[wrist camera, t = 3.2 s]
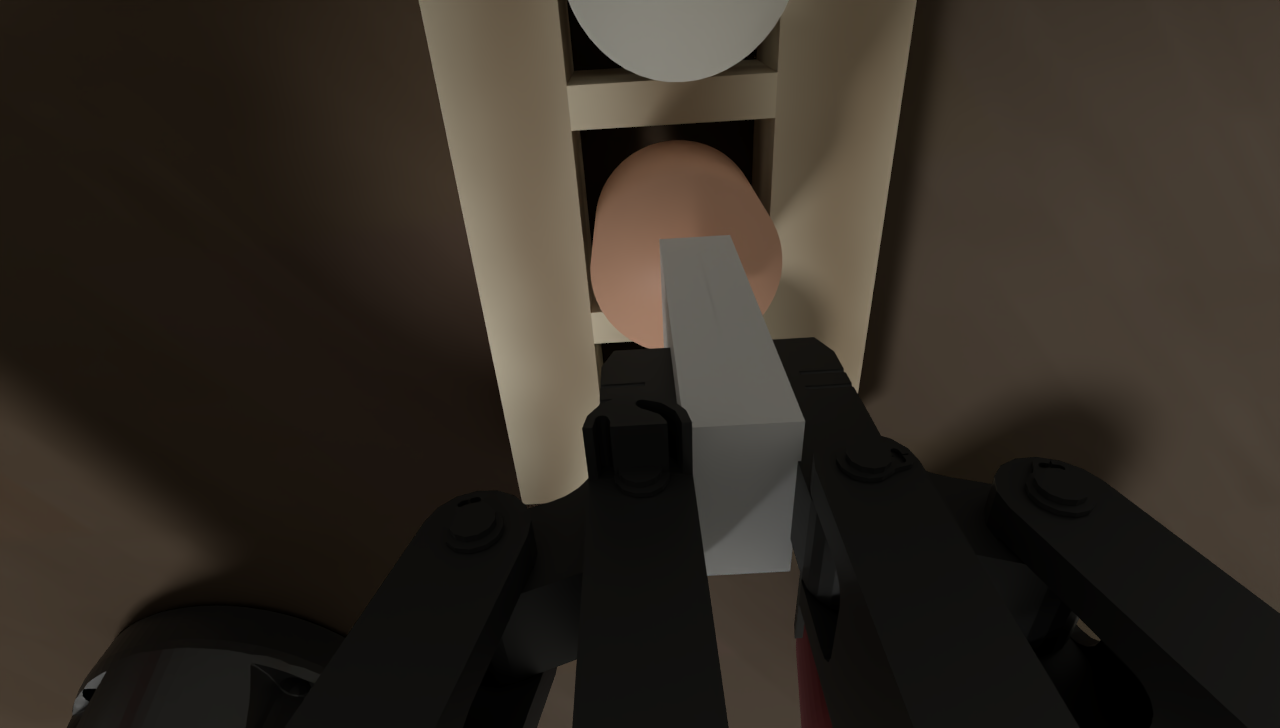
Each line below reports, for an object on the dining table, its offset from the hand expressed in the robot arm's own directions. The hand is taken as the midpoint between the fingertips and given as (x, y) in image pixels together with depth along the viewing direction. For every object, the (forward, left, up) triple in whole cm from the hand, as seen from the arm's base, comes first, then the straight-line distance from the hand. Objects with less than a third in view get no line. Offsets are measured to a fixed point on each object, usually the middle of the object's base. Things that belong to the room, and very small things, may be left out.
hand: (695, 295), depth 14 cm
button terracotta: (0, 0, -5) cm, 5 cm away
